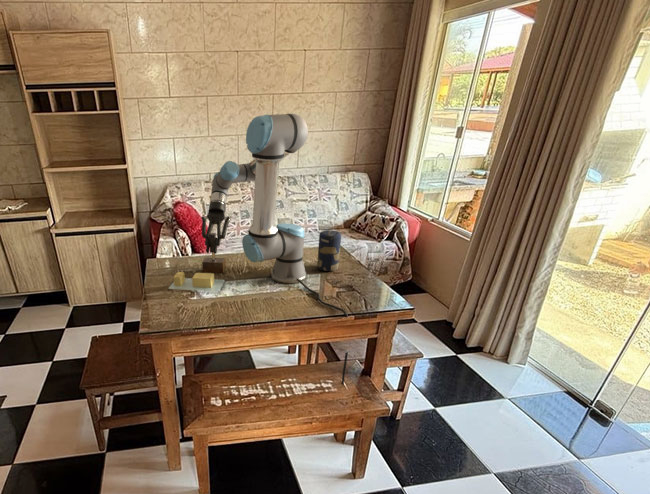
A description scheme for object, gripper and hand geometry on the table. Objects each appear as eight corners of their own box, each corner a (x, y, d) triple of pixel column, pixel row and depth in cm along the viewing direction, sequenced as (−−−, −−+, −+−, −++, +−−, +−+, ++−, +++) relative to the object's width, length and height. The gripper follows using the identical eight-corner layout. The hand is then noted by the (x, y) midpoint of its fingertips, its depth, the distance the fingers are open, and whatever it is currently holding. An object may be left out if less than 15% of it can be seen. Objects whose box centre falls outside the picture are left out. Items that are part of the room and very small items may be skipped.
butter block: (214, 282, 176) (213, 273, 174) (211, 287, 170) (210, 278, 168) (196, 281, 177) (195, 272, 175) (192, 286, 172) (192, 278, 170)
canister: (342, 268, 187) (346, 229, 178) (331, 274, 181) (335, 234, 172) (323, 263, 193) (327, 226, 184) (312, 269, 187) (315, 230, 178)
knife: (217, 269, 189) (215, 233, 181) (216, 271, 186) (214, 235, 178) (212, 268, 189) (210, 232, 181) (211, 271, 187) (208, 234, 178)
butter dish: (225, 282, 178) (224, 279, 177) (219, 293, 168) (218, 291, 167) (177, 279, 182) (176, 277, 182) (168, 290, 172) (168, 288, 171)
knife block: (225, 270, 190) (225, 258, 187) (223, 275, 185) (222, 262, 182) (206, 269, 192) (205, 257, 189) (203, 274, 187) (202, 261, 184)
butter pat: (185, 280, 178) (184, 272, 176) (181, 286, 173) (180, 277, 171) (178, 280, 179) (177, 271, 177) (174, 285, 174) (173, 277, 172)
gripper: (236, 209, 187) (230, 256, 181) (202, 209, 191) (195, 255, 185) (233, 200, 180) (227, 248, 174) (198, 200, 183) (191, 247, 177)
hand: (211, 252), depth 179 cm, fingers open, 3 cm apart
